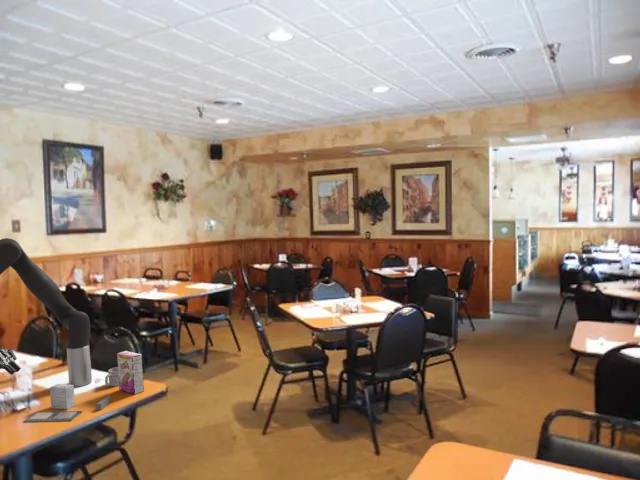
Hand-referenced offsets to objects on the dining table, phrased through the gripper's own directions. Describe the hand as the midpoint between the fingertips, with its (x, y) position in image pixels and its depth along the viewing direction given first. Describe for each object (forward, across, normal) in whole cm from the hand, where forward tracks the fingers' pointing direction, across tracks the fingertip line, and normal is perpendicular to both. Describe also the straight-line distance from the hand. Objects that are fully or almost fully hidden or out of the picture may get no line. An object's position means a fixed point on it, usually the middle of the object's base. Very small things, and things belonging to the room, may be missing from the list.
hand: (16, 371), depth 197 cm
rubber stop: (+35, 0, -14) cm, 38 cm away
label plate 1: (+21, -10, 0) cm, 23 cm away
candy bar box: (+38, +16, -17) cm, 45 cm away
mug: (+30, +24, -9) cm, 40 cm away
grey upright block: (+23, 0, -2) cm, 23 cm away
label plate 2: (+27, -10, -6) cm, 30 cm away
